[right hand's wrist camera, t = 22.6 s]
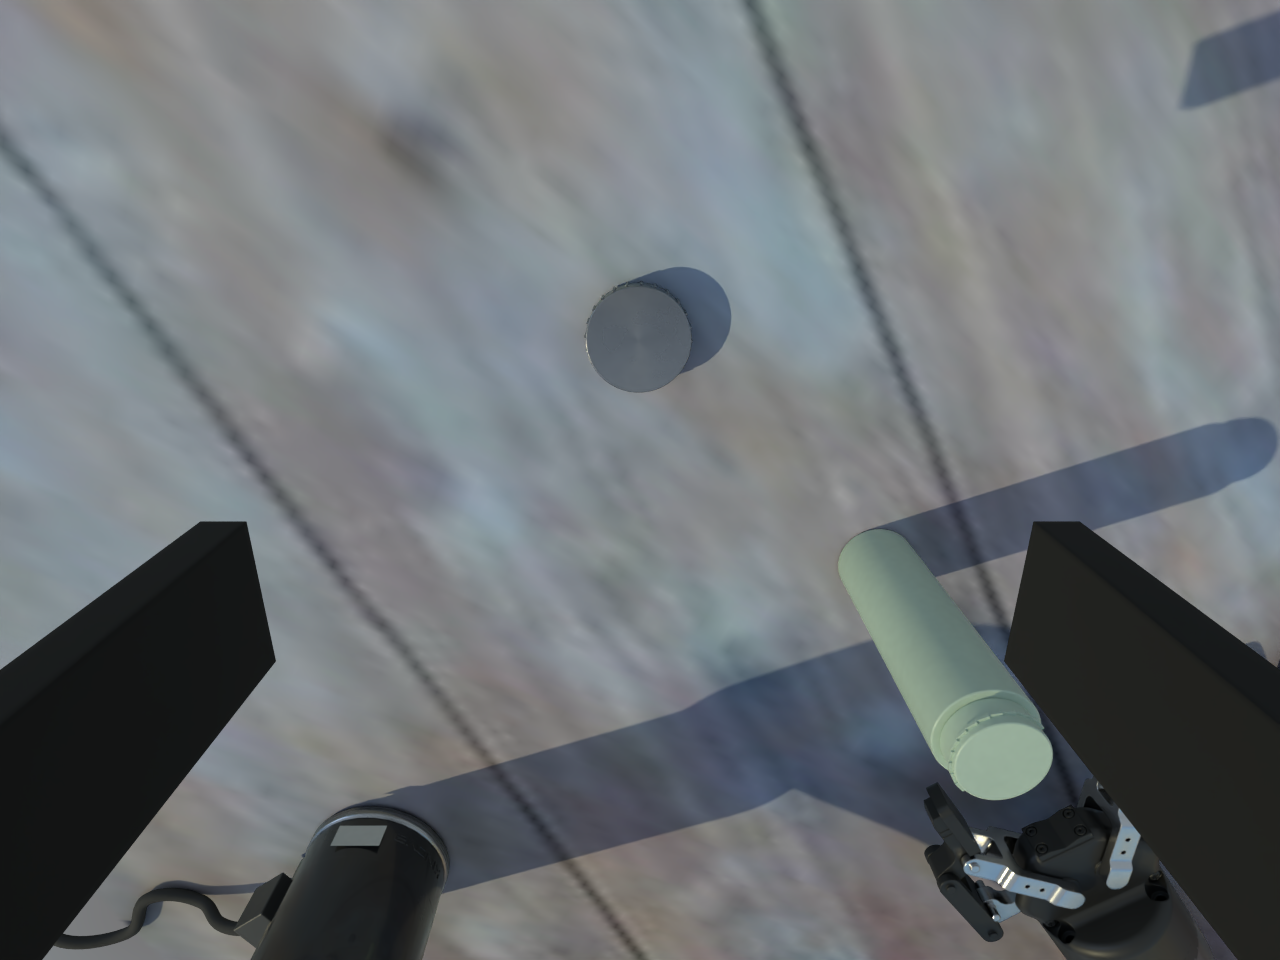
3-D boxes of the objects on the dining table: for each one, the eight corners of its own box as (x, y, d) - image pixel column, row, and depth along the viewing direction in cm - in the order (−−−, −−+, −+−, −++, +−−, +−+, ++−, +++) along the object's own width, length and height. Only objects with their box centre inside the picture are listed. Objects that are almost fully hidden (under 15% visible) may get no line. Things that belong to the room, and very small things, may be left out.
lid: (592, 389, 38) (590, 397, 37) (581, 285, 37) (578, 289, 35) (693, 381, 38) (695, 389, 37) (687, 276, 36) (689, 280, 35)
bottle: (883, 514, 41) (1021, 695, 26) (927, 564, 42) (1085, 765, 27) (822, 560, 42) (922, 760, 27) (867, 608, 43) (987, 825, 28)
